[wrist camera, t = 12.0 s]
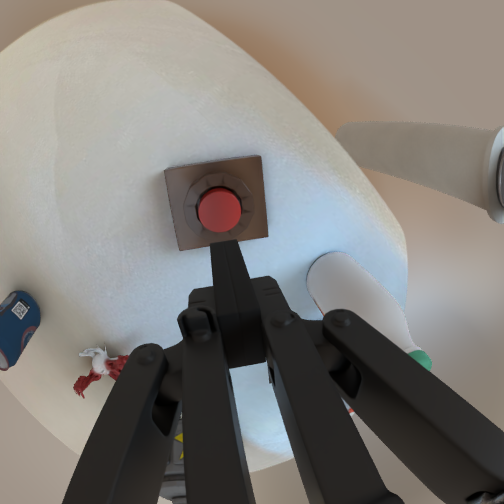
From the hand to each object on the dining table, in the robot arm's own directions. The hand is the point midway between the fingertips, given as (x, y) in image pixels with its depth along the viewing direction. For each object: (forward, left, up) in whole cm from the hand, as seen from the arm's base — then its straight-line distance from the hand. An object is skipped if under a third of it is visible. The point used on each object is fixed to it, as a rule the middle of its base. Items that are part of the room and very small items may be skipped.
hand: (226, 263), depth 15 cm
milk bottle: (-14, +13, -17) cm, 25 cm away
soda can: (+33, +10, -17) cm, 38 cm away
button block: (0, 0, -16) cm, 16 cm away
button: (0, 0, -13) cm, 13 cm away
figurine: (+21, +22, -17) cm, 35 cm away
